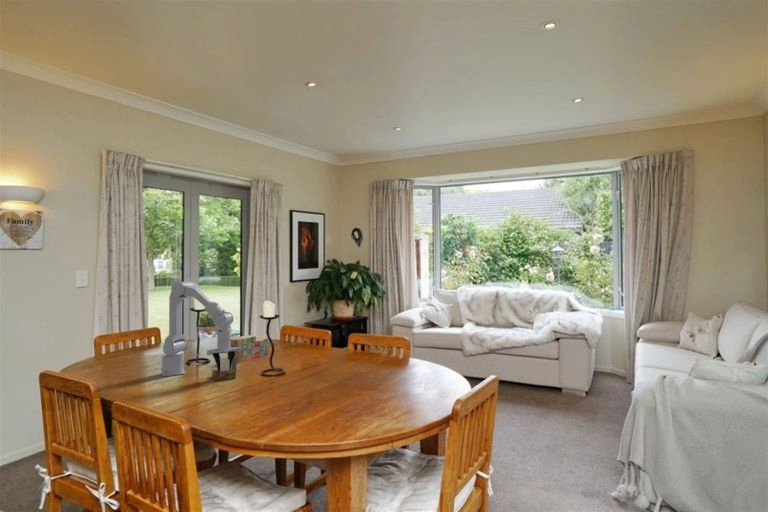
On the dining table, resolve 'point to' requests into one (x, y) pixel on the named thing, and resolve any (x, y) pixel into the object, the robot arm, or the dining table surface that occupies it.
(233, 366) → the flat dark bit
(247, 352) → the stack of blocks
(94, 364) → the dining table surface
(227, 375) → the walnut bore block
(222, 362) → the block
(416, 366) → the dining table surface
